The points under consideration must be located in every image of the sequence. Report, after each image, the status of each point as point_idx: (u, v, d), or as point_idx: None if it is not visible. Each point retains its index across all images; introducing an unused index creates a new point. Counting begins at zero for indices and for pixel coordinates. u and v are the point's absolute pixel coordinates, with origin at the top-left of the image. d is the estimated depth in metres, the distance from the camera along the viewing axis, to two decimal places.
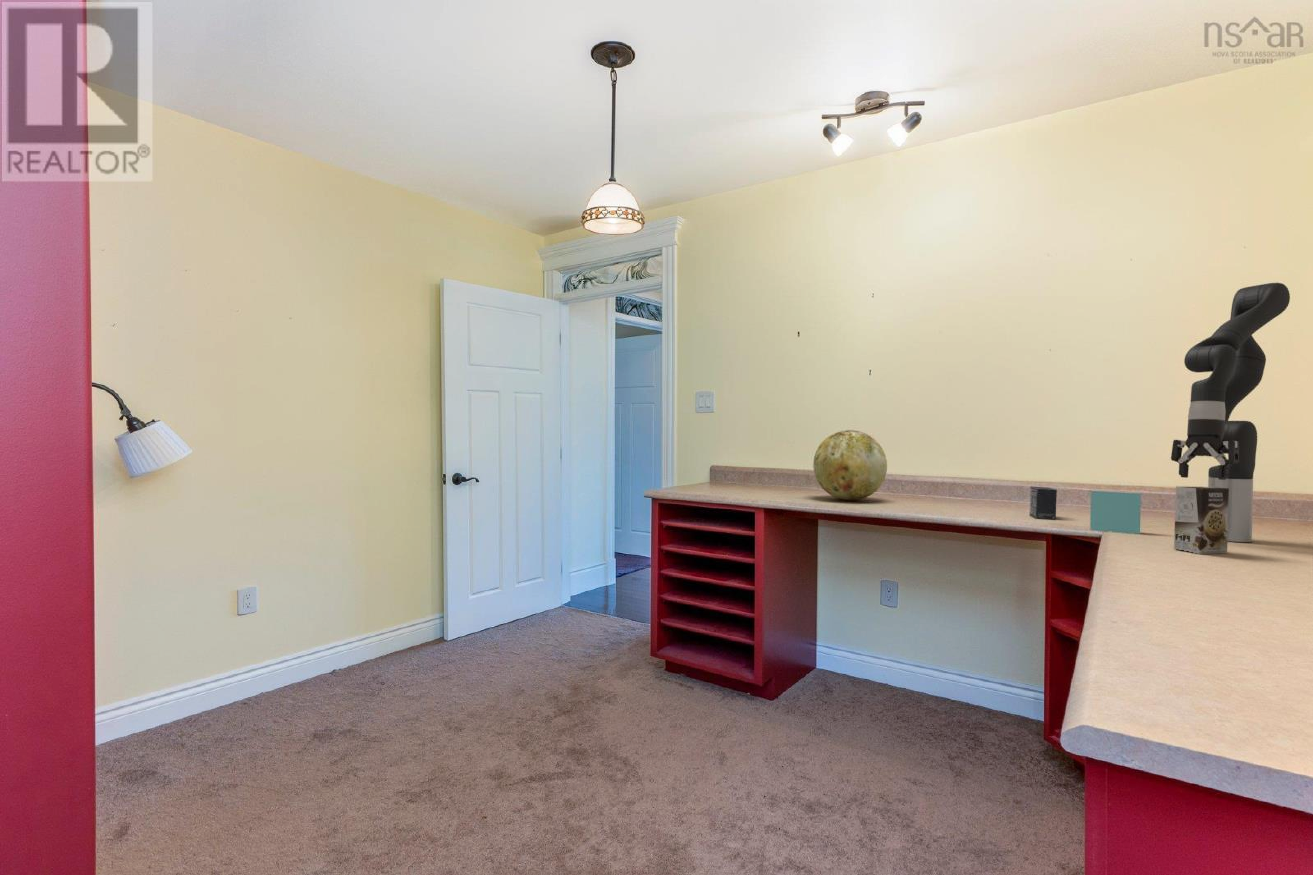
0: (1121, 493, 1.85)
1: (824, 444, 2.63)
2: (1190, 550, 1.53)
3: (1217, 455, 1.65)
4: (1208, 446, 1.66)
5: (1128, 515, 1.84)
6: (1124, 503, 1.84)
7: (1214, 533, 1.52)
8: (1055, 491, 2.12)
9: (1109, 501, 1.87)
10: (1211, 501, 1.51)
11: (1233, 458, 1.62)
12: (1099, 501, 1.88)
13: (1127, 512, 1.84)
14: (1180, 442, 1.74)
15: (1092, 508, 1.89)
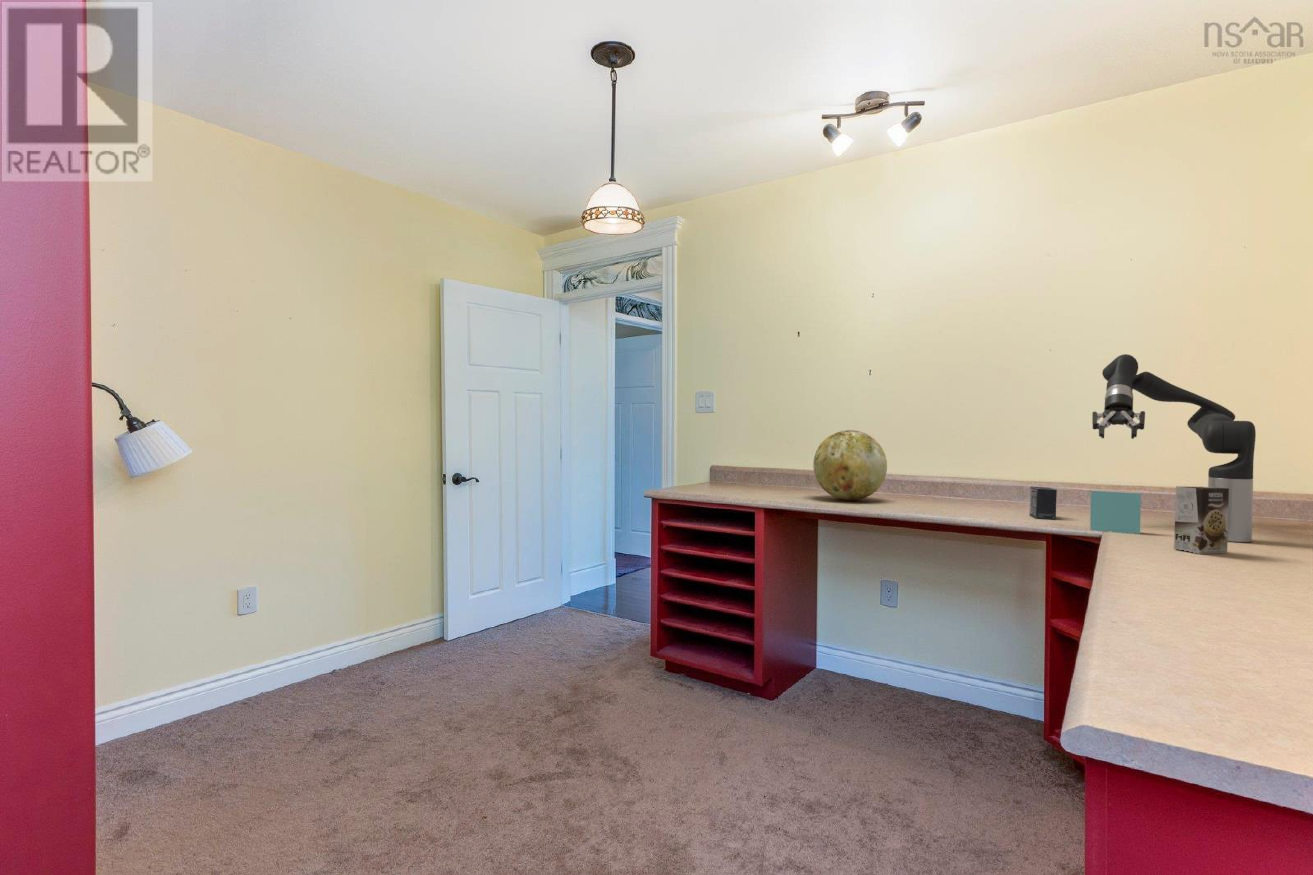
0: (1121, 493, 1.85)
1: (824, 444, 2.63)
2: (1190, 550, 1.53)
3: (1131, 419, 1.97)
4: (1125, 412, 1.99)
5: (1128, 515, 1.84)
6: (1124, 503, 1.84)
7: (1214, 533, 1.52)
8: (1055, 491, 2.12)
9: (1109, 501, 1.87)
10: (1211, 501, 1.51)
11: (1143, 421, 1.95)
12: (1099, 501, 1.88)
13: (1127, 512, 1.84)
14: None
15: (1092, 508, 1.89)
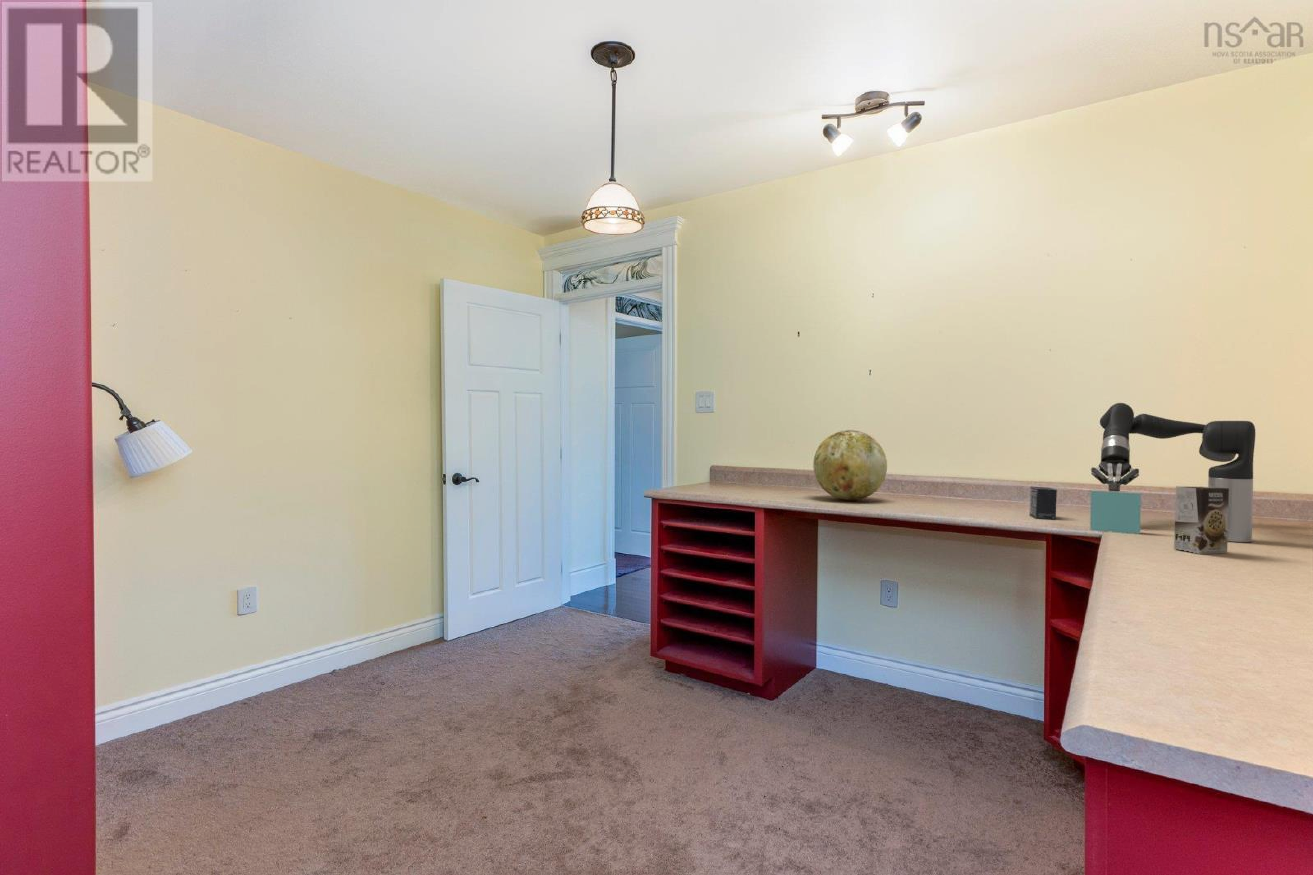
0: (1121, 493, 1.85)
1: (824, 444, 2.63)
2: (1190, 550, 1.53)
3: (1119, 474, 1.96)
4: (1120, 466, 1.98)
5: (1128, 515, 1.84)
6: (1124, 503, 1.84)
7: (1214, 533, 1.52)
8: (1055, 491, 2.12)
9: (1109, 501, 1.87)
10: (1211, 501, 1.51)
11: (1127, 478, 1.95)
12: (1099, 501, 1.88)
13: (1127, 512, 1.84)
14: None
15: (1092, 508, 1.89)
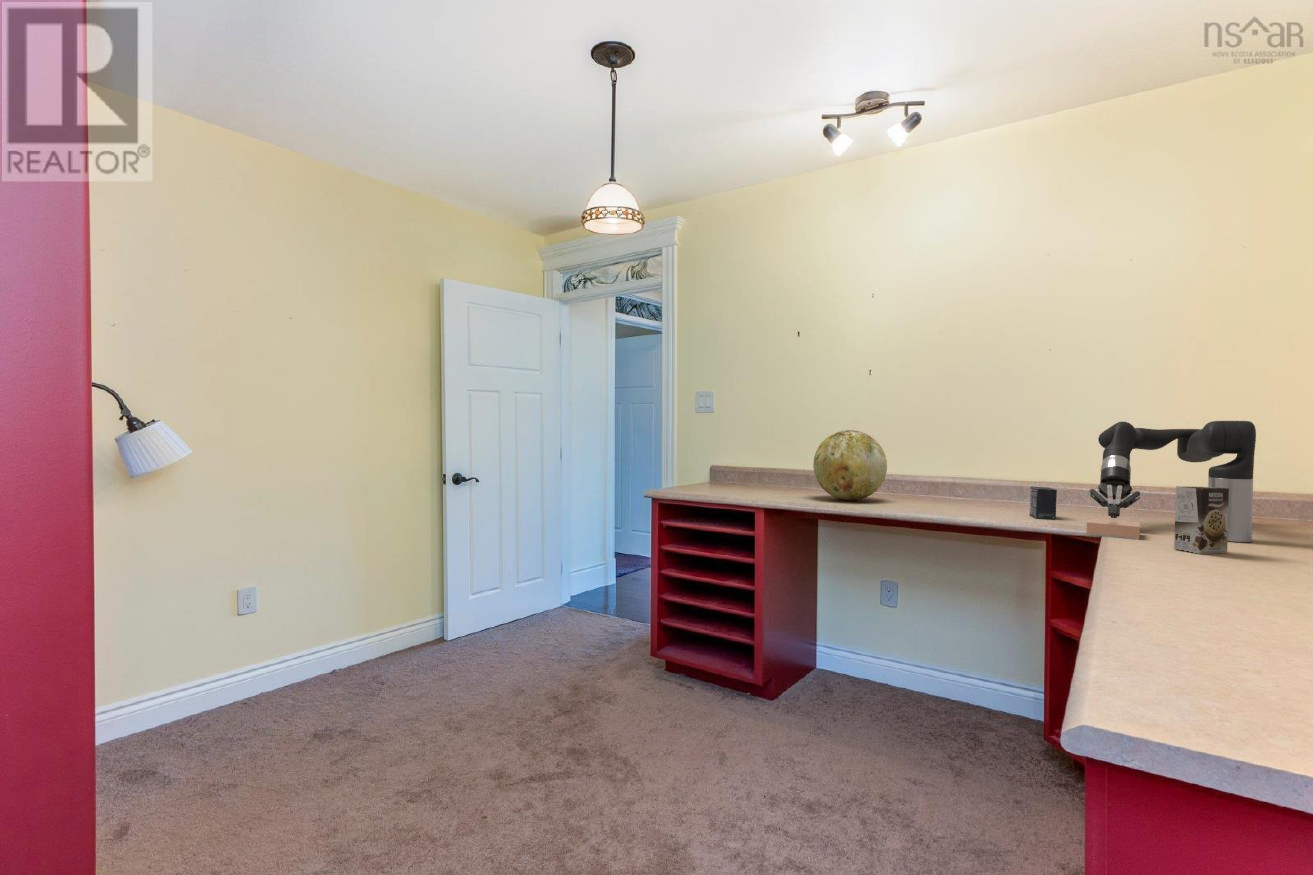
0: None
1: (824, 444, 2.63)
2: (1190, 550, 1.53)
3: (1119, 496, 1.87)
4: (1120, 488, 1.89)
5: None
6: None
7: (1214, 533, 1.52)
8: (1055, 491, 2.12)
9: None
10: (1211, 501, 1.51)
11: (1128, 501, 1.86)
12: None
13: None
14: (1095, 490, 1.93)
15: None
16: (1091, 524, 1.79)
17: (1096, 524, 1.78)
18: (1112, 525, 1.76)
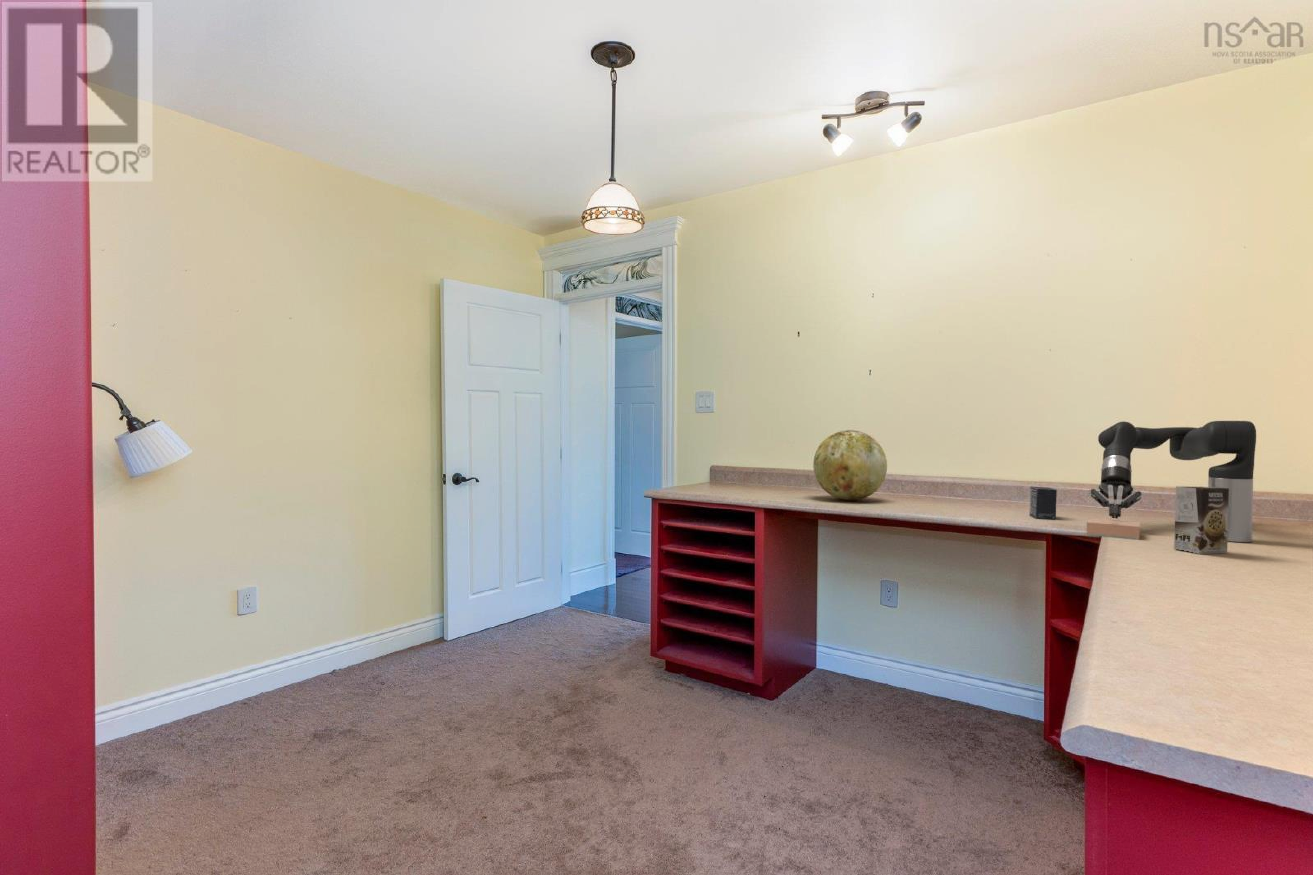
0: None
1: (824, 444, 2.63)
2: (1190, 550, 1.53)
3: (1120, 496, 1.85)
4: (1121, 488, 1.87)
5: None
6: None
7: (1214, 533, 1.52)
8: (1055, 491, 2.12)
9: None
10: (1211, 501, 1.51)
11: (1129, 501, 1.84)
12: None
13: None
14: None
15: None
16: (1091, 524, 1.79)
17: (1096, 524, 1.78)
18: (1112, 525, 1.76)
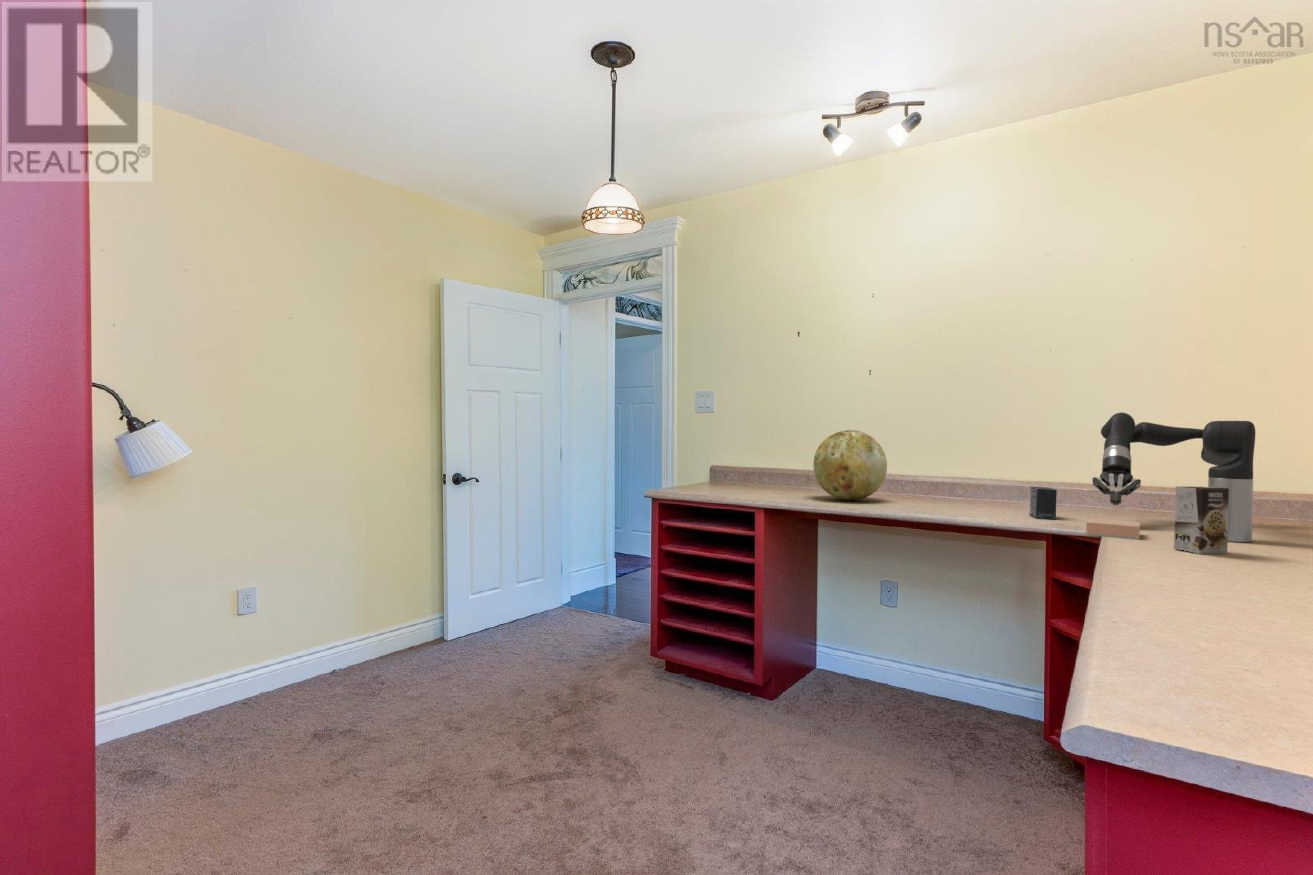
0: None
1: (824, 444, 2.63)
2: (1190, 550, 1.53)
3: (1121, 484, 1.95)
4: (1121, 476, 1.96)
5: None
6: None
7: (1214, 533, 1.52)
8: (1055, 491, 2.12)
9: None
10: (1211, 501, 1.51)
11: (1129, 488, 1.93)
12: None
13: None
14: None
15: None
16: (1091, 524, 1.79)
17: (1096, 524, 1.78)
18: (1112, 525, 1.76)
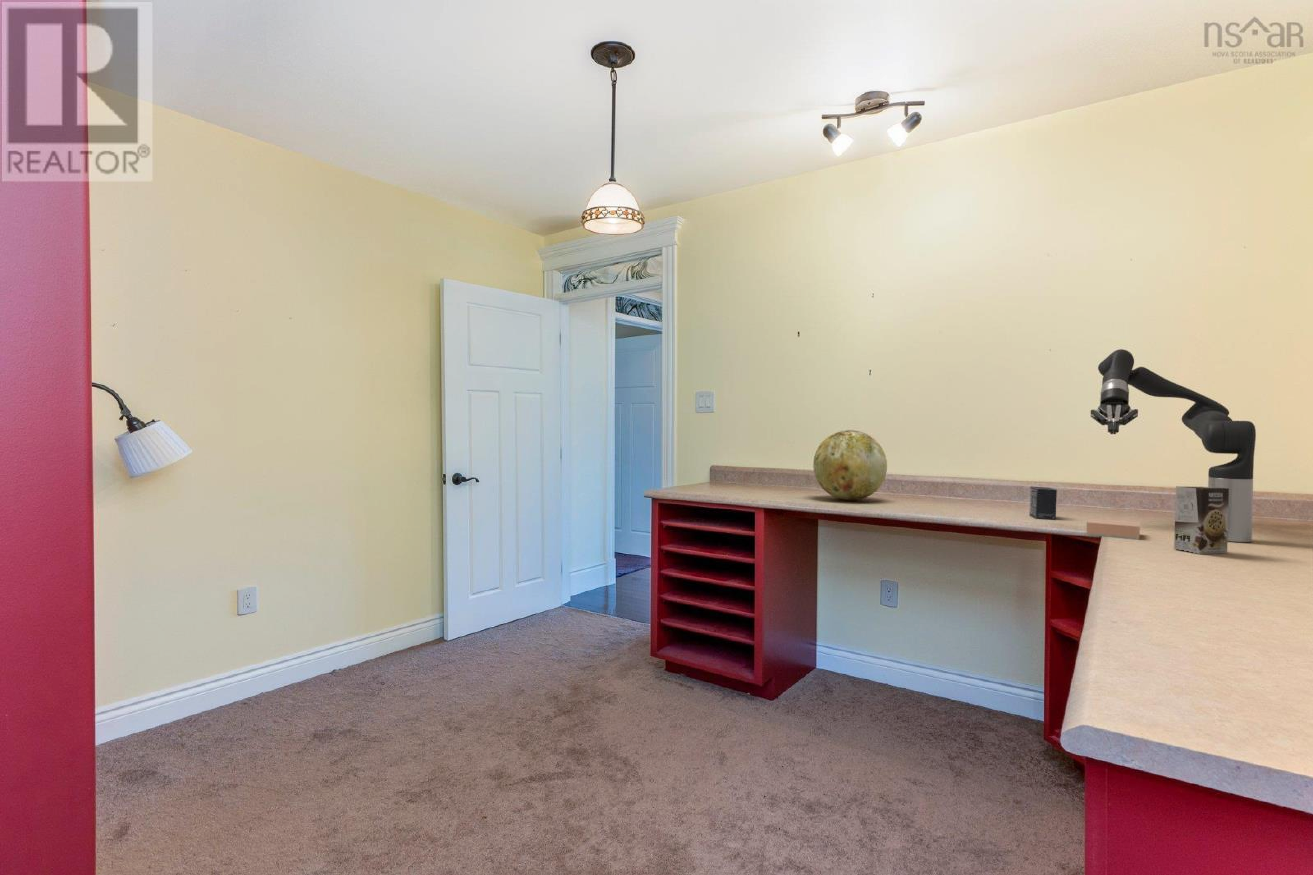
0: None
1: (824, 444, 2.63)
2: (1190, 550, 1.53)
3: (1118, 414, 1.98)
4: (1119, 407, 1.99)
5: None
6: None
7: (1214, 533, 1.52)
8: (1055, 491, 2.12)
9: None
10: (1211, 501, 1.51)
11: (1126, 418, 1.96)
12: None
13: None
14: None
15: None
16: (1091, 524, 1.79)
17: (1096, 524, 1.78)
18: (1112, 525, 1.76)
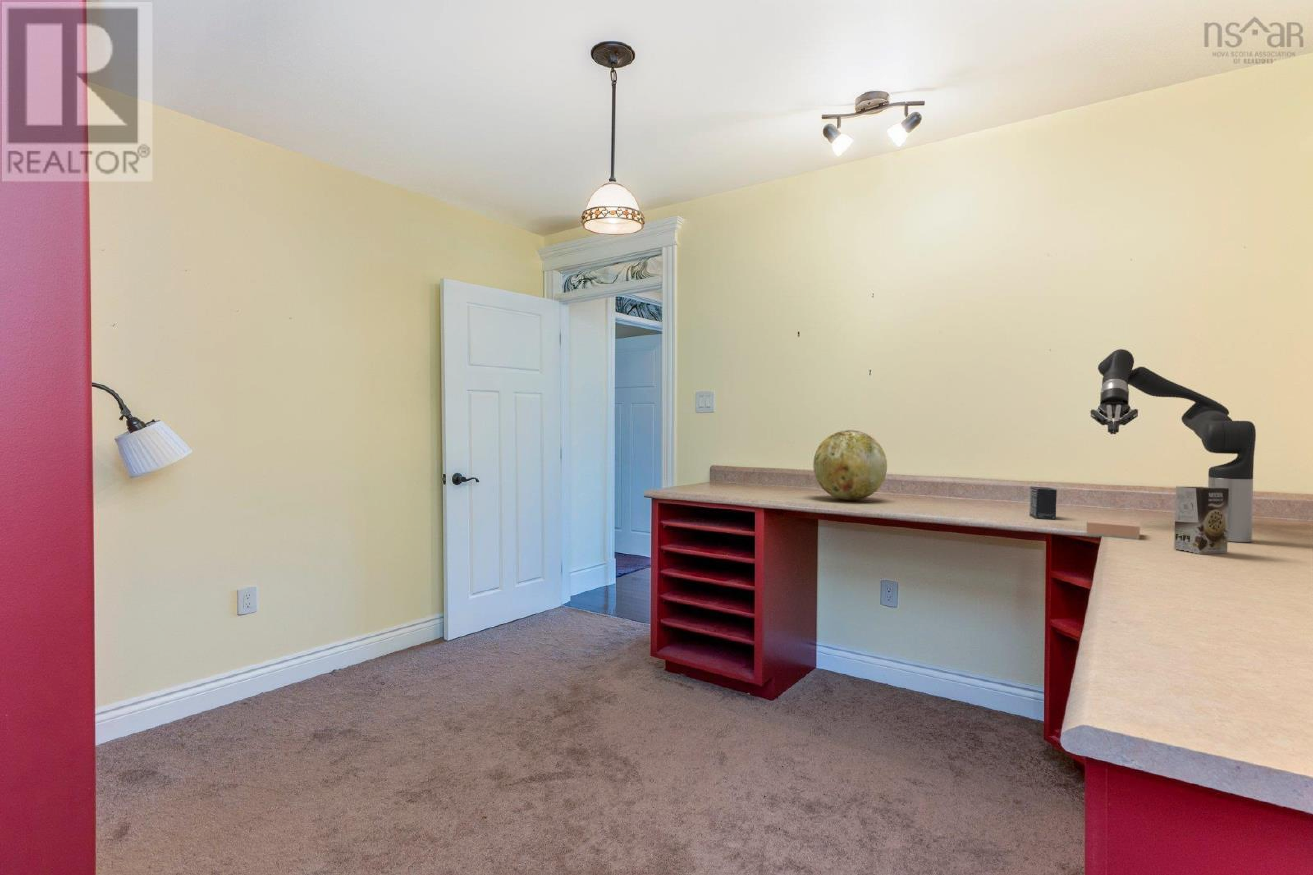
0: None
1: (824, 444, 2.63)
2: (1190, 550, 1.53)
3: (1118, 414, 1.98)
4: (1119, 407, 1.99)
5: None
6: None
7: (1214, 533, 1.52)
8: (1055, 491, 2.12)
9: None
10: (1211, 501, 1.51)
11: (1126, 418, 1.96)
12: None
13: None
14: None
15: None
16: (1091, 524, 1.79)
17: (1096, 524, 1.78)
18: (1112, 525, 1.76)
